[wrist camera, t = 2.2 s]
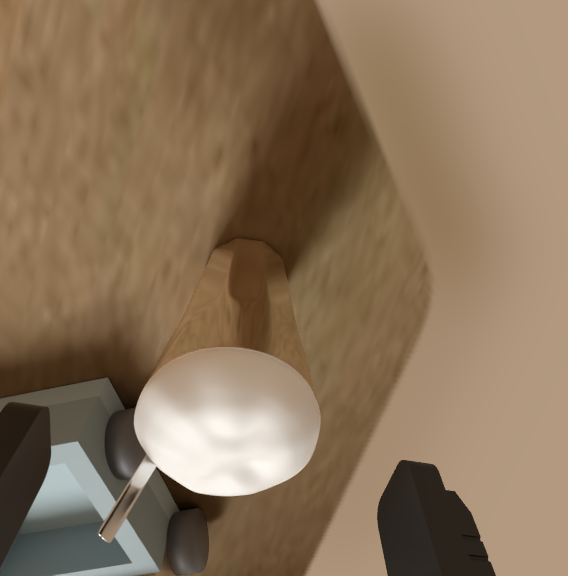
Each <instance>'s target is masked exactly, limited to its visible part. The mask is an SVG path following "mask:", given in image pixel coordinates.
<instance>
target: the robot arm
mask: <svg viewBox="0 0 568 576" xmlns="http://www.w3.org/2000/svg"><path fill="white" fill-rule="evenodd" d="M50 460H51V432H50V411H49V408H48V407H46V406H39V405H32V404H25V403H18V402H9V403H8V404H6V405H5V407H4V408H3V409H2V411H1V412H0V568H1V566H2V564H3V562H4V560H5V558H6V556H7V554H8V552H9V550H10V548H11V546H12V544H13V542H14V540H15V538H16V536H17V534H18V532H19V530H20V528H21V526H22V524H23V522H24V520H25V518H26V516H27V514H28V512H29V510H30V508H31V506H32V504H33V502H34V500H35V498H36V496H37V494H38V492H39V490H40V488H41V486H42V484H43V482H44V480H45V478H46V475H47V472H48V469H49V465H50ZM377 520H378V528H379V533H380V539H381V544H382V548H383V554H384V559H385V564H386V569H387V574H388V576H496V575H495V572H494V570H493V567H492V565H491V562H489V561H488V555H487V552H486V549H485V547H484V544H483V542H481V541H480V534H479V532H478V529H477V527H476V524H475V522H474V519H473V517H472V514H471V512H470V511H469V510H468V508H467V507H466V506H465V504H464V503H463V502H462V500H461V499H460V498H459V496H458V495H457V494H456V492H455V491H447V490H445V487H444V485H443V482H442V479H441V476H440V474H439V471H438V469H437V467H435V465H433V464H427V463H421V462H414V461H407V460H401V461H400V462H399V464H398V465H397V467H396V469H395V471H394V473H393V475H392V477H391V479H390V481H389V483H388V485H387V487H386V489H385V491H384V492H383V494H382V496H381V499H380V502H379V505H378V513H377Z"/></svg>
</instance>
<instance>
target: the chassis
mask: <svg viewBox="0 0 568 576" xmlns="http://www.w3.org/2000/svg"><path fill="white" fill-rule="evenodd" d="M9 402H18V403H25V404H32V405H39V406H46V407H48V408H49V411H50V432H51V460H50V465H49V469H48V472H47V475H46V478H45V480H44V482H43V484H42V486H41V488H40V490H39V492H38V494H37V496H36V498H35V500H34V502H33V504H32V506H31V508H30V510H29V512H28V514H27V516H26V518H25V520H24V522H23V524H22V526H21V528H20V530H19V532H18V534H17V536H16V538H15V540H14V542H13V544H12V546H11V548H10V550H9V552H8V554H7V556H6V558H5V560H4V562H3V564H2V566H1V568H0V576H185V575H187V574H194V573H200V572H203V570H204V569H205V567H206V564H207V560H208V552H209V536H208V528H207V523H206V519H205V516H204V514H203V512H202V510H201V509H199V508H196V509H189V510H183V511H179V509H178V507H177V505H176V503H175V501H174V500H173V498H172V496H171V494H170V492H169V490H168V488H167V487H166V485H165V483H164V481H163V479H162V477H161V475H160V474H159V472H158V470H157V467H156V468H155V470H154V472H153V473H152V475H151V477H150V478H149V480H148V482H147V483H146V485H145V487H144V488H143V490H142V492H141V493H140V495H139V497H138V498H137V500H136V502H135V503H134V505H133V507H132V508H131V510H130V512H129V513H128V515H127V517H126V518H125V520H124V522H123V523H122V525H121V527H120V528H119V530H118V532H117V533H116V535H115V537H114V538H113V540H112V541H111V542H110V543H108V542H106V541H105V540H104V539H102V538H101V537H100V536H99V535H98V530H99V529H100V527H101V525H102V524H103V522H104V520H105V519H106V517H107V516H108V514H109V513H110V511H111V509H112V508H113V506H114V505H115V503H116V501H117V500H118V498H119V497H120V495H121V493H122V492H123V490H124V489H125V487H126V486H127V484H128V482H129V481H130V479H131V478H132V476H133V474H134V473H135V471H136V470H137V468H138V466H139V465H140V463H141V462H142V460H143V459H144V457H145V455H146V452H145V451H144V449H143V448H142V446H141V444H140V442H139V440H138V438H137V436H136V433H135V428H134V414H135V409H136V407H135V408H130V409H125V408H124V406H123V405H122V403H121V401H120V399H119V397H118V395H117V393H116V392H115V390H114V388H113V386H112V384H111V382H110V380H109V379H108V377H107V378H102V379H97V380H92V381H87V382H82V383H77V384H71V385H66V386H61V387H56V388H51V389H46V390H41V391H36V392H31V393H26V394H21V395H16V396H11V397H5V398H0V412H1V411H2V409H3V408H4V407H5V405H6V404H8V403H9Z"/></svg>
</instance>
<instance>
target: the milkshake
mask: <svg viewBox="0 0 568 576" xmlns="http://www.w3.org/2000/svg"><path fill="white" fill-rule="evenodd" d="M320 424H321V415H320V409H319V406H318V402H317V398H316V394H315V390H314V387H313V383H312V379H311V375H310V371H309V368H308V364H307V360H306V356H305V353H304V349H303V345H302V342H301V339H300V335H299V332H298V328H297V324H296V320H295V316H294V311H293V306H292V301H291V296H290V291H289V286H288V281H287V276H286V271H285V266H284V262H283V258H282V257H280V256H279V255H278V254H277V253H276V252H275V251H274V250H273V249H271V248H270V247H269V246H268V245H267V244H266V243H265V242H263V241H256V240H249V239H242V238H236V239H234V240H232V241H230V242H228V243H226V244H224V245H222V246H220V247H218V248H216V249H214V251H213V253H212V255H211V257H210V259H209V261H208V263H207V265H206V267H205V269H204V271H203V273H202V276H201V278H200V280H199V282H198V284H197V287H196V289H195V291H194V293H193V295H192V298H191V300H190V302H189V304H188V306H187V309H186V311H185V313H184V315H183V317H182V318H181V320H180V322H179V324H178V325H177V327H176V329H175V330H174V332H173V334H172V336H171V337H170V339H169V341H168V343H167V345H166V347H165V348H164V350H163V352H162V354H161V356H160V358H159V360H158V362H157V364H156V365H155V367H154V369H153V371H152V373H151V375H150V377H149V379H148V381H147V383H146V385H145V387H144V388H143V390H142V392H141V395H140V397H139V400H138V402H137V406H136V409H135V414H134V428H135V433H136V436H137V438H138V440H139V442H140V444H141V446H142V448H143V449H144V451H145V452H146V455H145V457H144V459H143V460H142V462H141V463H140V465H139V466H138V468H137V470H136V471H135V473H134V474H133V476H132V478H131V479H130V481H129V482H128V484H127V486H126V487H125V489H124V490H123V492H122V493H121V495H120V497H119V498H118V500H117V501H116V503H115V505H114V506H113V508H112V509H111V511H110V513H109V514H108V516H107V517H106V519H105V520H104V522H103V524H102V525H101V527H100V529H99V530H98V535H99V536H100V537H101V538H102V539H104V540H105V541H106V542H108V543H110V542H111V541H112V540H113V538H114V537H115V535H116V533H117V532H118V530H119V528H120V527H121V525H122V523H123V522H124V520H125V518H126V517H127V515H128V513H129V512H130V510H131V508H132V507H133V505H134V503H135V502H136V500H137V498H138V497H139V495H140V493H141V492H142V490H143V488H144V487H145V485H146V483H147V482H148V480H149V478H150V477H151V475H152V473H153V472H154V470H155V468H156V467H158V468H159V469H160V470H161V471H162V472H164V473H165V474H166V475H168V476H169V477H171V478H172V479H174V480H175V481H177V482H178V483H180V484H181V485H183V486H184V487H186V488H188V489H189V490H191V491H194V492H197V493H201V494H208V495H215V496H239V495H249V494H253V493H256V492H259V491H262V490H265V489H268V488H270V487H273V486H275V485H277V484H280V483H282V482H284V481H286V480H288V479H290V478H292V477H293V476H295V475H296V474H297V473H299V472H300V471H301V470H302V469H303V468H304V467H305V466H306V464H307V463H308V462H309V460H310V459H311V457H312V454H313V452H314V450H315V447H316V443H317V439H318V436H319V431H320Z"/></svg>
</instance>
